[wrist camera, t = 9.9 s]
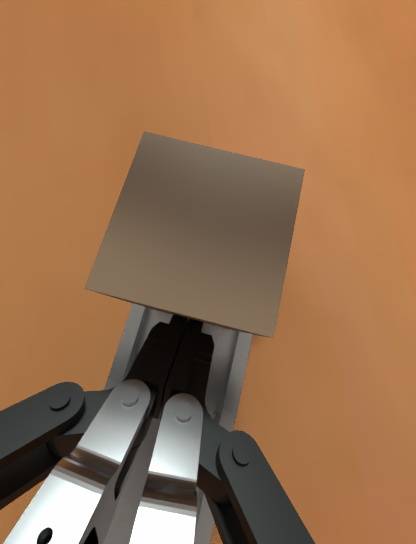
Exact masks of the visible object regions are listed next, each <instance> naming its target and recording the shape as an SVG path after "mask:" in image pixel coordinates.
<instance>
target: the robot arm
mask: <svg viewBox="0 0 416 544" xmlns="http://www.w3.org/2000/svg"><path fill="white" fill-rule="evenodd" d="M202 326H203V322H202V321H198V320H194V319H191V318H189V320H188V318H187V317H183V316H179V315H175V314H173V316H172V318H171V320H170V323H169V324H168V323H164V322H159V323H157V324H156V325H155V326H154V327H152V328H151V330H150V332H149V334H148V336H147V339H146V340H145V342H144V344H143V346H142V348H141V350H140V351H139V353H138V355H137V357H136V359H135V361H134V363H133V365H132V367H131V369H130V371H129V373H128V374H127V376H126V378H125V379H124V380H123V381H122V382H121V383H119V384H118V385H117V386H115V387H113V388H111V389H108V390H102V391H87V392H83V389H82V388H81V387H80V386H79V385H78V384H76V383H73V382H63V383H59V384H56V385H54V386H52V387H50V388H48V389H46V390H44V391H42V392H39V393H37V394H35V395H33V396H31V397H29V398H27V399H25V400H23V401H21V402H19V403H17V404H14V405H12V406H10V407H8V408H6V409H4V410H2V411H0V510H1V509H2V508H4V507H5V506H7V505H8V504H9V503H11V502H12V501H14V500H15V499H17V498H18V497H20V496H21V495H22V494H24V493H25V492H27V491H28V490H30V489H31V488H33V487H34V486H35V485H37V484H38V483H40V482H41V481H43V480H44V479H46V478H47V479H46V480H45V482H44V483H43V485H42V486H41V488H40V489H39V491H38V492H37V494H36V495H35V497H34V498H33V500H32V501H31V503H30V504H29V506H28V507H27V509H26V510H25V512H24V513H23V515H22V516H21V518H20V519H19V521H18V522H17V524H16V525H15V527H14V528H13V530H12V531H11V533H10V534H9V536H8V537H7V539H6V540H5V542H4V543H3V544H103V542H104V540H105V537H106V535H107V533H108V530H109V528H110V525H111V522H112V520H113V517H114V514H115V510H116V507H117V504H118V501H119V499H120V496H121V494H122V492H123V489H124V487H125V485H126V482H127V480H128V478H129V475H130V473H131V470H132V468H133V466H134V463H135V461H136V459H137V456H138V454H139V452H140V449H141V447H142V445H143V442H144V440H145V437H146V435H147V432H148V429H149V427H150V424H151V421H152V418H155V419H158V418H159V415H160V412H161V415H160V420H161V422H160V427H159V431H158V435H157V439H156V443H155V447H154V451H153V455H152V459H151V463H150V467H149V471H148V475H147V479H146V483H145V486H144V489H143V493H142V497H141V501H140V505H139V509H138V513H137V517H136V521H135V525H134V529H133V533H132V537H131V541H130V544H194V535H195V524H196V513H197V493H196V486H197V487H198V488H200V489H201V490H202V491H203V492H204V494H205V497H206V500H207V503H208V505H209V508H210V511H211V513H212V516H213V519H214V521H215V524H216V527H217V529H218V532H219V534H220V537H221V540H222V542H223V544H315V543H314V541H313V539H312V538H311V536H310V534H309V532H308V531H307V529H306V527H305V525H304V524H303V522H302V520H301V519H300V517H299V515H298V513H297V512H296V510H295V508H294V507H293V505H292V503H291V501H290V500H289V498H288V496H287V494H286V493H285V491H284V489H283V488H282V486H281V484H280V482H279V481H278V479H277V477H276V476H275V474H274V472H273V470H272V469H271V467H270V465H269V464H268V462H267V460H266V458H265V457H264V455H263V453H262V451H261V450H260V448H259V446H258V445H257V443H256V442H255V440H254V439H253V438H252V437H251V436H250V435H248V434H247V433H245V432H243V431H231V432H229V431H227V430H226V429H225V428H223V427H222V426H220V425H219V424H218V423H216V422H215V421H214V420H213V419H212V418H211V416H210V415H209V413H208V411H207V409H206V405H205V395H206V389H207V384H208V378H209V373H210V367H211V362H212V356H213V350H214V342H213V338H212V335H209V334H205V333H202V332H201V330H202ZM161 409H162V410H161Z"/></svg>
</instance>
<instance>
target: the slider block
mask: <svg viewBox="0 0 416 544" xmlns="http://www.w3.org/2000/svg"><path fill="white" fill-rule="evenodd" d="M304 171H305V170H304V169H300V168H296V167H292V166H287V165H283V164H279V163H275V162H270V161H266V160H262V159H258V158H254V157H249V156H245V155H241V154H237V153H232V152H228V151H224V150H220V149H216V148H211V147H207V146H203V145H199V144H194V143H190V142H186V141H182V140H177V139H173V138H169V137H165V136H161V135H156V134H152V133H148V132H144V133H143V136H142V138H141V141H140V143H139V146H138V149H137V151H136V154H135V157H134V159H133V162H132V165H131V167H130V170H129V172H128V175H127V178H126V180H125V183H124V186H123V188H122V191H121V193H120V196H119V199H118V201H117V204H116V207H115V209H114V212H113V214H112V217H111V220H110V222H109V225H108V228H107V230H106V233H105V236H104V238H103V241H102V243H101V246H100V249H99V251H98V254H97V257H96V259H95V262H94V264H93V267H92V270H91V272H90V275H89V278H88V280H87V283H86V285H85V288H84V289H88V290H91V291H94V292H97V293H101V294H104V295H107V296H111V297H114V298H117V299H121V300H124V301H127V302H131V303H134V304H137V305H140V306H144V307H147V308H150V309H154V310H157V311H161V312H165V313H169V314H175V315H179V316H183V317H187V318H188V319H189V318H191V319H194V320H198V321H202V322H203V323H207V324H211V325H214V326H218V327H222V328H226V329H230V330H234V331H239V332H244V333H250V334H255V335H260V336H265V337H270V338H274V332H275V327H276V322H277V316H278V311H279V305H280V300H281V295H282V289H283V284H284V278H285V273H286V268H287V262H288V257H289V252H290V246H291V241H292V235H293V230H294V225H295V219H296V214H297V209H298V203H299V198H300V192H301V187H302V182H303V176H304Z"/></svg>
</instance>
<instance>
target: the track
mask: <svg viewBox="0 0 416 544" xmlns="http://www.w3.org/2000/svg"><path fill="white" fill-rule="evenodd" d="M172 316H173V314H169V313H165V312H161V311H157V310H154V309H150V308H147V307H144V306H140V305H137V304H134V303H133V304H132V307H131V310H130V313H129V316H128V319H127V322H126V325H125V328H124V331H123V334H122V337H121V340H120V343H119V346H118V349H117V352H116V355H115V358H114V361H113V364H112V368H111V371H110V374H109V377H108V380H107V383H106V386H105V389H104V390H108V389H111V388H113V387H115V386H117V385H118V384H119V383H121V382H122V381H123V380H124V379H125V378H126V376H127V374H128V373H129V371H130V369H131V367H132V365H133V363H134V361H135V359H136V357H137V355H138V353H139V351H140V350H141V348H142V346H143V344H144V342H145V340H146V339H147V336H148V334H149V332H150V330H151V328H152V327H154V326H155V325H156V324H157V323H159V322H164V323H168V324H169V323H170V320H171V318H172ZM188 320H189V319H188ZM201 332H202V333H205V334H209V335H212V338H213V342H214V350H213V356H212V362H211V367H210V373H209V378H208V384H207V389H206V395H205V405H206V409H207V411H208V413H209V415H210V416H211V418H212V419H213V420H214V421H215V422H216V423H218V424H219V425H220V426H222V427H223V428H225V429H226V430H227V431H229V432H231V431H233V428H234V423H235V418H236V413H237V408H238V404H239V399H240V394H241V389H242V384H243V379H244V374H245V370H246V365H247V360H248V355H249V350H250V345H251V340H252V336H253V334H250V333H244V332H239V331H234V330H230V329H226V328H222V327H218V326H214V325H211V324H207V323H203V326H202V330H201ZM161 410H162V409H161ZM160 415H161V412H160ZM160 415H159V418H158V419H155V418H152V421H151V424H150V427H149V429H148V432H147V435H146V437H145V440H144V442H143V445H142V447H141V449H140V452H139V454H138V456H137V459H136V461H135V463H134V466H133V468H132V470H131V473H130V475H129V478H128V480H127V482H126V485H125V487H124V489H123V492H122V494H121V496H120V499H119V501H118V504H117V507H116V510H115V514H114V517H113V520H112V522H111V525H110V528H109V530H108V533H107V535H106V537H105V540H104V542H103V544H130V541H131V537H132V533H133V529H134V525H135V521H136V517H137V513H138V509H139V505H140V501H141V497H142V493H143V489H144V486H145V483H146V479H147V475H148V471H149V467H150V463H151V459H152V455H153V451H154V447H155V443H156V439H157V435H158V431H159V427H160V422H161V420H160ZM196 493H197V513H196V524H195V535H194V544H210V539H211V535H212V530H213V525H214V519H213V516H212V513H211V511H210V508H209V505H208V503H207V500H206V497H205V494H204V492H203V491H202V490H201V489H200V488H198V487H197V486H196Z"/></svg>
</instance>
